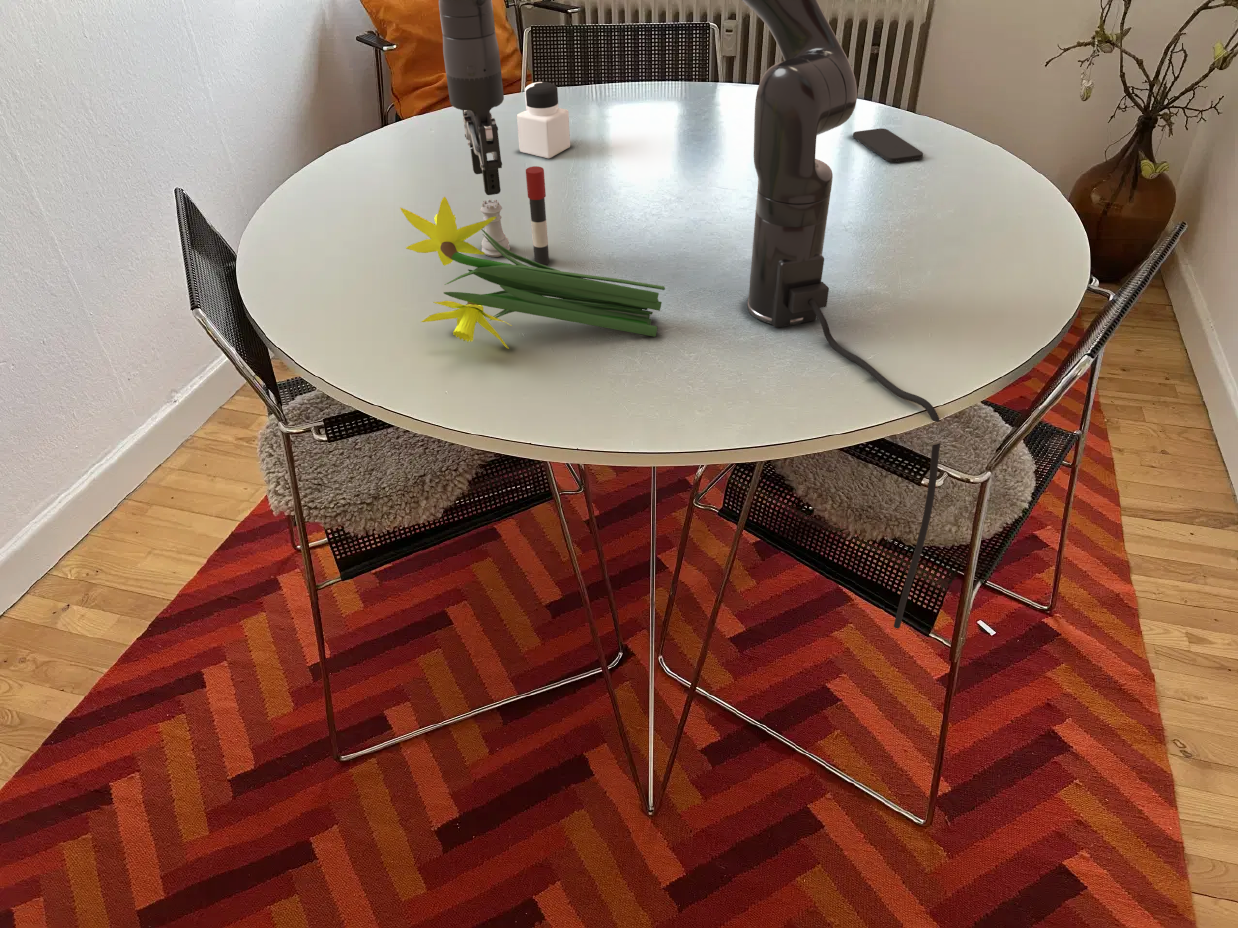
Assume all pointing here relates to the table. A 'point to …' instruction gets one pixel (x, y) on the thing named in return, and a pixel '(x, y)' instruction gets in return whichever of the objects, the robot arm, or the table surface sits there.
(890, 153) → the phone
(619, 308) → the daffodil flowers
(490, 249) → the rook chess piece
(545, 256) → the marker
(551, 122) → the medicine bottle
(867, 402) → the table surface
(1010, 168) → the table surface
